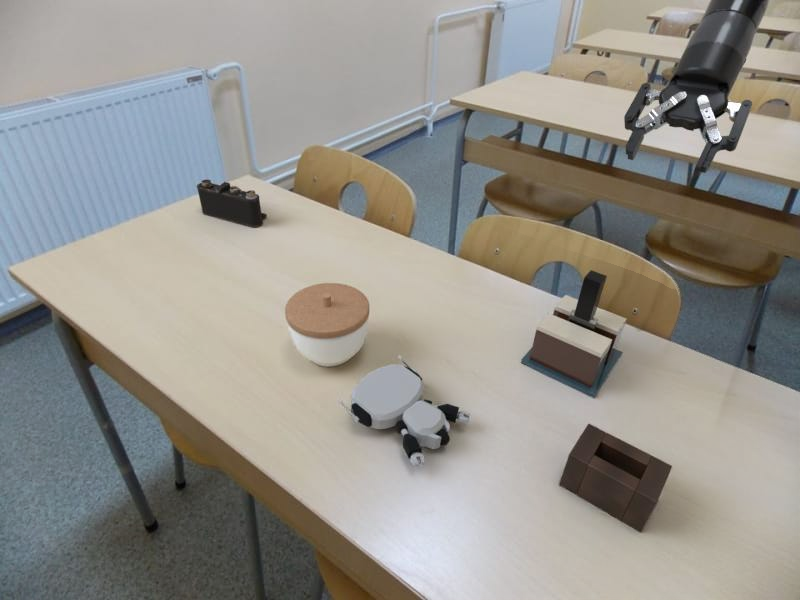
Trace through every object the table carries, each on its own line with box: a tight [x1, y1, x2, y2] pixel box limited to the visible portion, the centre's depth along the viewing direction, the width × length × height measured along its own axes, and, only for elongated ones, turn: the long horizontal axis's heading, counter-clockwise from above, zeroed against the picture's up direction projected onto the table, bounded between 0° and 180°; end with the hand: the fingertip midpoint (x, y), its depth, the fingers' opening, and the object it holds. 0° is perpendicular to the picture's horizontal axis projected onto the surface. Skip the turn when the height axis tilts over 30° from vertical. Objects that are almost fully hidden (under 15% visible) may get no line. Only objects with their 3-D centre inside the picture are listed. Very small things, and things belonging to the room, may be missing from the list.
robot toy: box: [336, 354, 471, 467], centre depth 70 cm, size 12×4×15 cm
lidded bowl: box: [284, 282, 370, 368], centre depth 80 cm, size 13×13×11 cm
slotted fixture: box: [520, 294, 627, 399], centre depth 80 cm, size 12×12×8 cm
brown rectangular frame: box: [558, 423, 673, 533], centre depth 62 cm, size 10×6×6 cm, turn 52°
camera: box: [196, 179, 268, 229], centre depth 118 cm, size 16×7×8 cm, turn 65°
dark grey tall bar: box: [568, 269, 608, 332], centre depth 78 cm, size 4×2×15 cm, turn 52°
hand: (662, 164), depth 69 cm, fingers open, 8 cm apart
